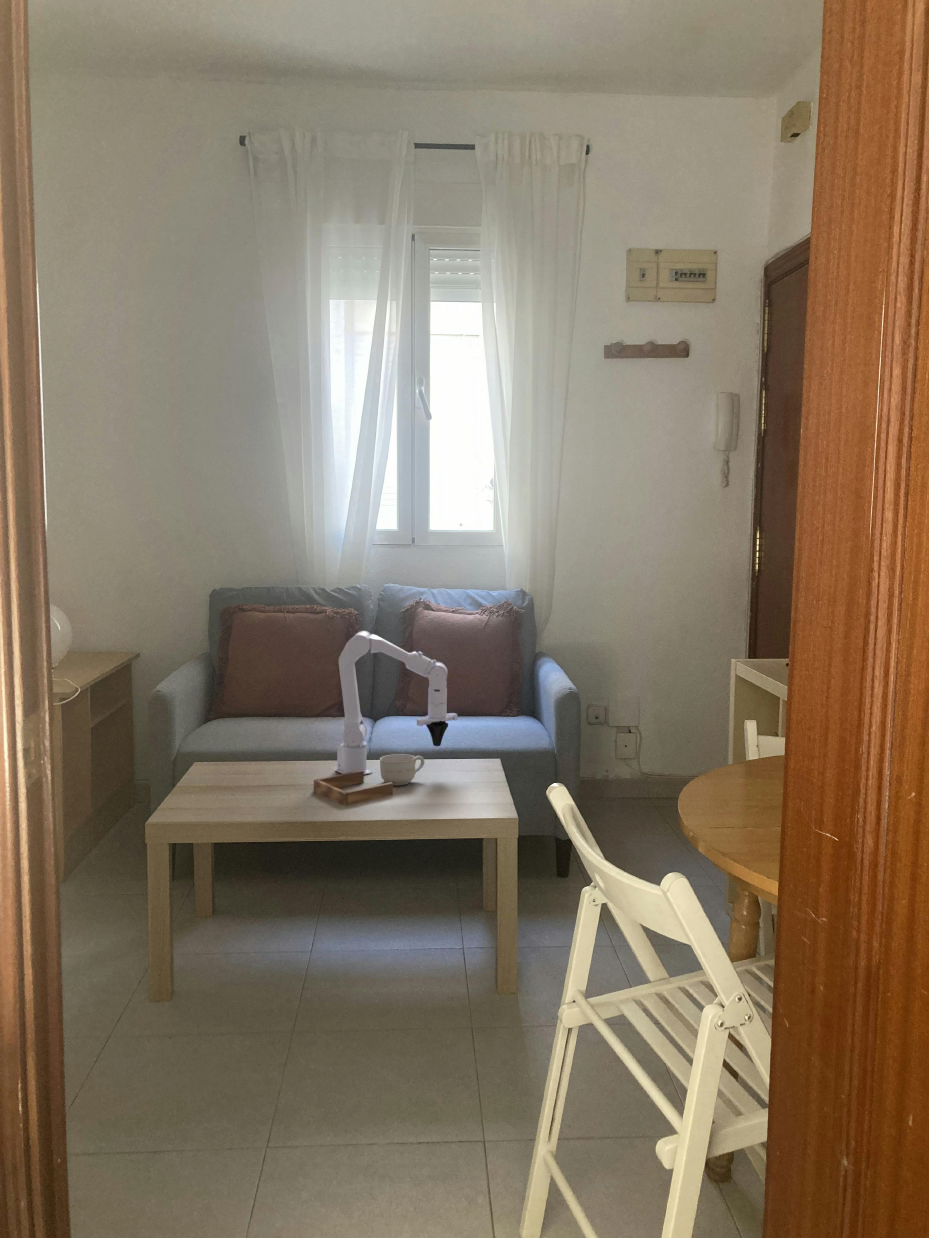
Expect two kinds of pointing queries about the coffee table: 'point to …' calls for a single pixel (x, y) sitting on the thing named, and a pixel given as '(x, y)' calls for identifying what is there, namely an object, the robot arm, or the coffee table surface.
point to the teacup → (399, 768)
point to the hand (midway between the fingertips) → (436, 745)
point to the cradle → (331, 791)
